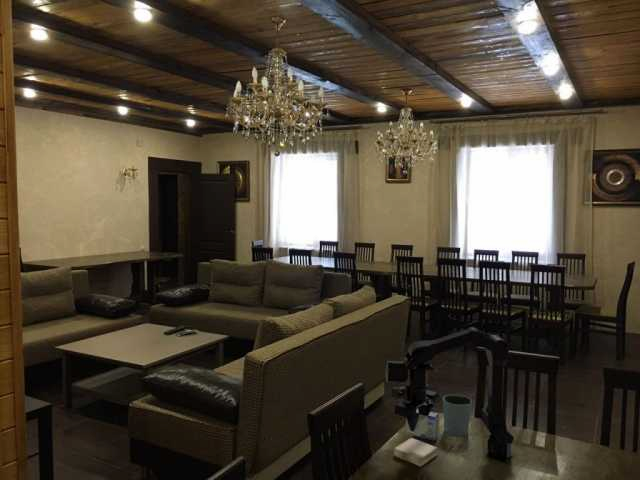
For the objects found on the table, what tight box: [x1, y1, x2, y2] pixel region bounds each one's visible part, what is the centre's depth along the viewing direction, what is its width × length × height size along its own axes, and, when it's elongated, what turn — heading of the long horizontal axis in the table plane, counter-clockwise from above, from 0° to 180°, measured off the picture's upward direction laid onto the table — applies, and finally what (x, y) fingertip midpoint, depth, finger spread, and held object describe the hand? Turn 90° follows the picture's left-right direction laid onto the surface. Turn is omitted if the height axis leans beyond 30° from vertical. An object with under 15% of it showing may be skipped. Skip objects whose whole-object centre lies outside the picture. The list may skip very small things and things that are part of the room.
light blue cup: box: [442, 393, 473, 438], centre depth 192 cm, size 10×10×12 cm
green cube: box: [405, 414, 428, 436], centre depth 174 cm, size 5×5×5 cm
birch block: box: [393, 437, 438, 467], centre depth 175 cm, size 10×10×3 cm
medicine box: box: [412, 408, 440, 441], centre depth 188 cm, size 8×4×9 cm, turn 62°
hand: (416, 428), depth 174 cm, fingers closed on green cube, 5 cm apart
